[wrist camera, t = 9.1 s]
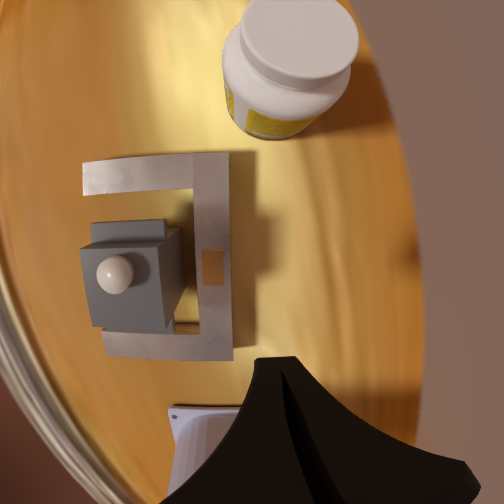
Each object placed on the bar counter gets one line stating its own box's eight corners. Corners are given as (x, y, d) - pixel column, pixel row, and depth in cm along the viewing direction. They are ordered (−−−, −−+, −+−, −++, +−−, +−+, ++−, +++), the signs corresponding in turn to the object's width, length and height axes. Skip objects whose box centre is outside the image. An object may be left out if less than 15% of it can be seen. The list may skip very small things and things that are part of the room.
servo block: (186, 302, 20) (165, 356, 13) (130, 301, 20) (90, 350, 13) (180, 211, 18) (150, 227, 12) (121, 213, 18) (69, 231, 12)
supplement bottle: (329, 108, 17) (407, 53, 8) (266, 159, 18) (298, 136, 8) (273, 48, 16) (302, -45, 7) (208, 97, 17) (182, 21, 7)
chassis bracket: (233, 348, 21) (233, 365, 19) (114, 344, 20) (104, 359, 18) (229, 154, 18) (228, 151, 16) (93, 164, 17) (78, 162, 15)
